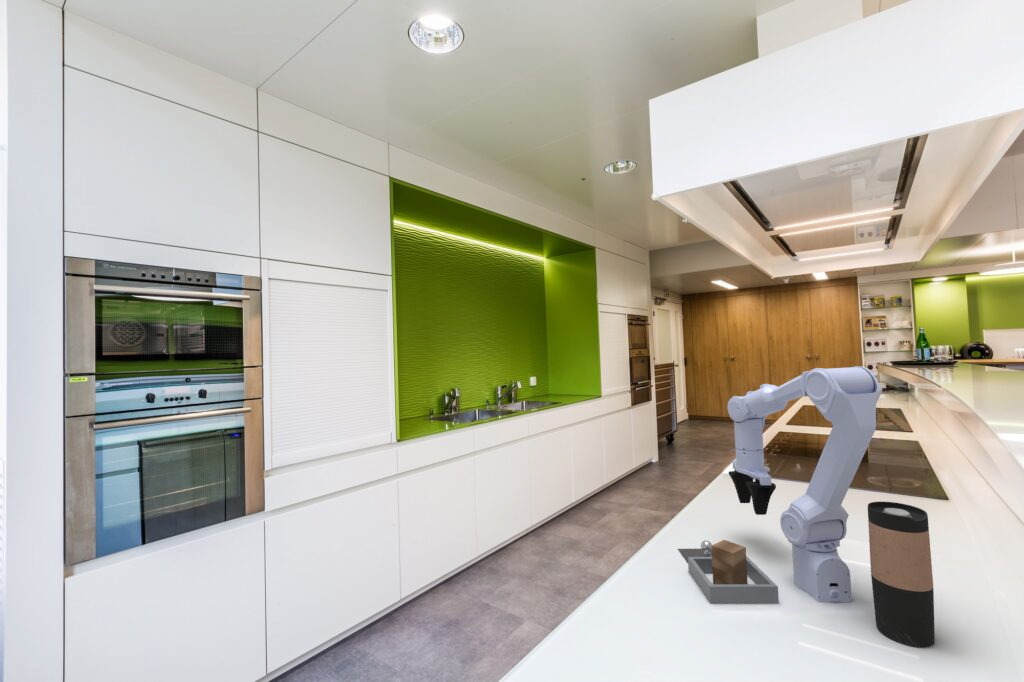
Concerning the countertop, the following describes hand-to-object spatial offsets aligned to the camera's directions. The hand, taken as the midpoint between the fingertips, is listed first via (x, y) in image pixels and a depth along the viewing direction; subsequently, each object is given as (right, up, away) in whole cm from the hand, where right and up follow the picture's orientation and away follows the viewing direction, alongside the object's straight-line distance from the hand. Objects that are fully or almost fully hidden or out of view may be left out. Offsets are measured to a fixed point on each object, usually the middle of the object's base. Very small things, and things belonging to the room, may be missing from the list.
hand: (752, 508), depth 102 cm
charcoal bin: (-13, -10, -16) cm, 23 cm away
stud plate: (-12, -11, -4) cm, 16 cm away
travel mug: (+9, -9, -30) cm, 32 cm away
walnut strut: (-13, -10, -16) cm, 22 cm away
